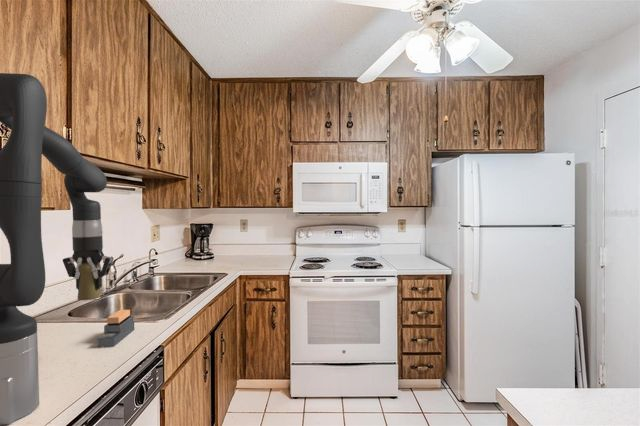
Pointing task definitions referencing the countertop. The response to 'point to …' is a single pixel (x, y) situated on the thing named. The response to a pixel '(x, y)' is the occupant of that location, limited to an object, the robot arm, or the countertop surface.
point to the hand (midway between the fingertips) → (89, 289)
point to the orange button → (118, 316)
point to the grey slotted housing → (116, 332)
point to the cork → (87, 283)
